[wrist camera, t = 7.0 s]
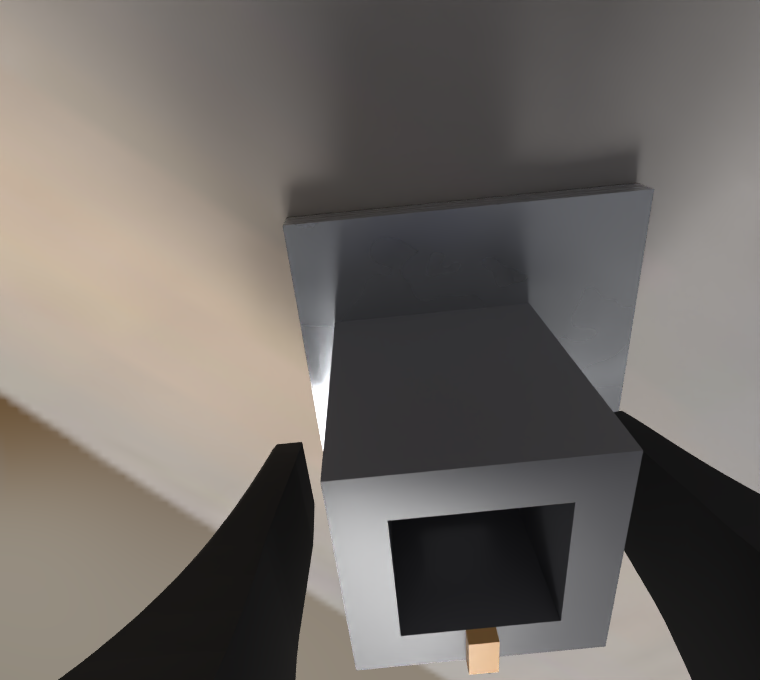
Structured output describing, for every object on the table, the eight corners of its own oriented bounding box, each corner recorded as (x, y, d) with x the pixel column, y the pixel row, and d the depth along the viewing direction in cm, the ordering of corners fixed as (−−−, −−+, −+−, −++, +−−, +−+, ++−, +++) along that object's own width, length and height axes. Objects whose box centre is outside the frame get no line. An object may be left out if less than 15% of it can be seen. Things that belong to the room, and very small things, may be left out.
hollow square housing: (529, 303, 13) (653, 463, 8) (521, 455, 16) (611, 660, 10) (334, 322, 13) (319, 495, 8) (356, 471, 16) (356, 685, 10)
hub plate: (637, 183, 13) (653, 189, 12) (601, 433, 17) (612, 449, 16) (286, 217, 13) (282, 225, 12) (328, 459, 17) (327, 476, 16)
